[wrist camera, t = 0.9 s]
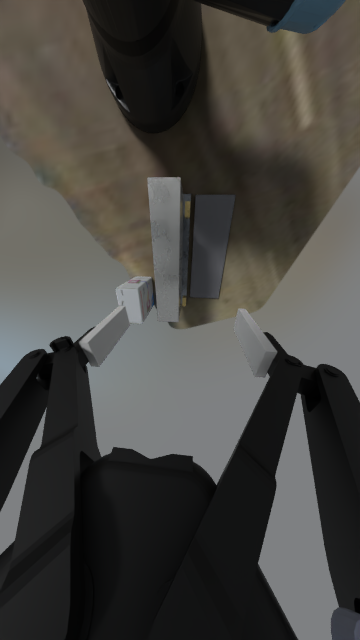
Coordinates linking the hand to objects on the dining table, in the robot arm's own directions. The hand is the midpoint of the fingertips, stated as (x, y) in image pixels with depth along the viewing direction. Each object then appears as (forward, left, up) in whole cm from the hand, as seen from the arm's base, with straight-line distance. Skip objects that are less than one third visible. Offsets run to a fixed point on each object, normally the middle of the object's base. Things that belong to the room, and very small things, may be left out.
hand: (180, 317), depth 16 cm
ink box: (+5, -12, -23) cm, 27 cm away
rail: (-4, -3, -15) cm, 16 cm away
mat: (-5, +5, -23) cm, 24 cm away
